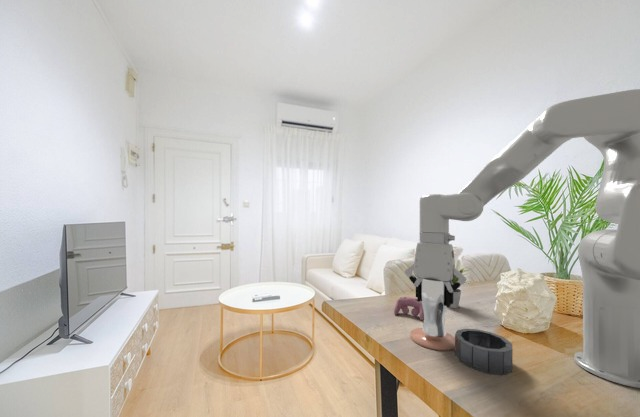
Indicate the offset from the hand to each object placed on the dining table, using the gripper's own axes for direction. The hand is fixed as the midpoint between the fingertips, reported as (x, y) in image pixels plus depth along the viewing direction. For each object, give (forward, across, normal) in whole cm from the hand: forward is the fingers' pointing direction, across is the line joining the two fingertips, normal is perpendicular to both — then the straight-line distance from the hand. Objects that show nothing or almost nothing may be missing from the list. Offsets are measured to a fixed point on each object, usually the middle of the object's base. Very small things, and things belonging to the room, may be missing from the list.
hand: (434, 302), depth 73 cm
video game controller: (+10, +11, -14) cm, 20 cm away
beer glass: (+8, 0, 0) cm, 8 cm away
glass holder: (+10, -12, +4) cm, 16 cm away
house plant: (+10, 0, -33) cm, 35 cm away
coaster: (+10, 0, 0) cm, 10 cm away
